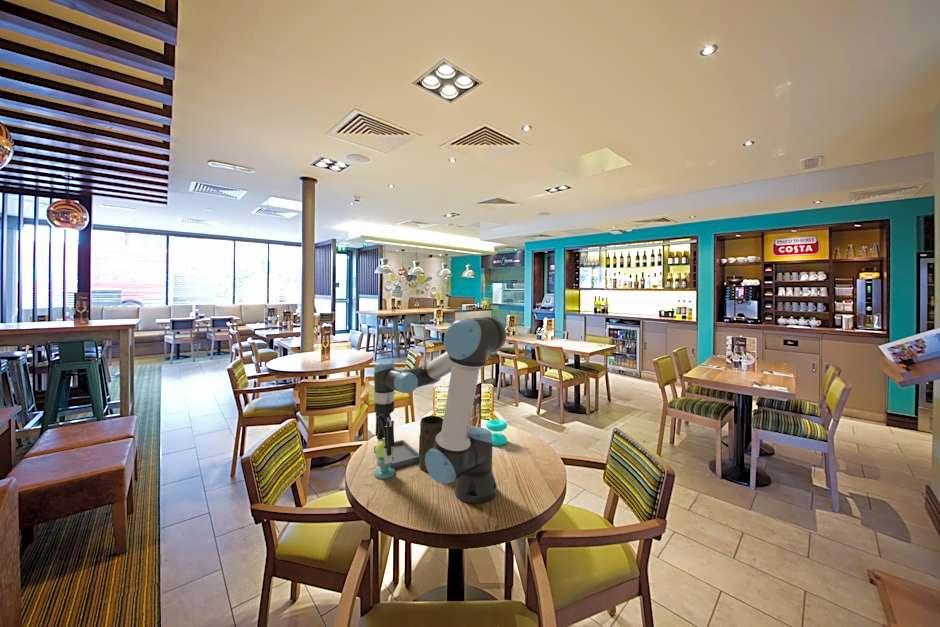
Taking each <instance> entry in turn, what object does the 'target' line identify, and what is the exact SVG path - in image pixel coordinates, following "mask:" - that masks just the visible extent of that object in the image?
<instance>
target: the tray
mask: <svg viewBox="0 0 940 627" xmlns="http://www.w3.org/2000/svg"><path fill="white" fill-rule="evenodd" d="M375 449H376V445H374V446H373V453H375V454H376V451H375ZM376 455H377V454H376ZM376 455H375V456H376ZM392 456H393V457H394V460H392V465H390V466H389V467H392V468H394V469H395V470H396V469H398V468H402V467H406V466H410V465H413V464H417V463H418V464H419V462H420V460H419V451H417V450H416V449H414V448H413V447H412V446H411V445H410V444H409V443H407V441H405V440H404V439H400V440H396V441H395V440H394V450H393V453H392Z"/></svg>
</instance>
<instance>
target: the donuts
mask: <svg viewBox="0 0 940 627" xmlns="http://www.w3.org/2000/svg"><path fill="white" fill-rule="evenodd" d="M507 423H508V422H506V421H505V420H503V419H498V418H495V419H490V420H488V421H487V422H486V424H485V425H486V429H487V430H489V431H490V432H491V433H492V441H493V443H492V446H496V447H500V446H503V445H505V444H506V443H507V442H508V441H507V440H508V438H507V436H506V435H504V434H502V433H501V432H504V431H505V430H507V427H508V424H507Z"/></svg>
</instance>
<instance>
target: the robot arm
mask: <svg viewBox="0 0 940 627" xmlns="http://www.w3.org/2000/svg"><path fill="white" fill-rule="evenodd" d="M506 339H507V330H506V327H505V326H504V324H503V323H502V321H500V320H499V319H497V318H494V317H491V316H485V317H473V318H471V317H470V318H469V317H468V318H467V317H466V318H462V319H458V320H455V321H453V322H452V323H451V324H450V325H449V326H448V327H447V329H446V330H445V333H444V336H443V345H444V347H445V352H444V353H442V354H440V355H438V356H437V357H435V358H434V359H431V361H429V362H427V363H425V364H424V365H423V366H418V367H414V368H410V369H403V370H400V369H399V370H398V369H397V368H396V369H395V363H394V362H393V361H385V360H384V361H378V362H376V363H375V364H374V369H373V370H374V371H373V378H374V379H373V381H374V383H373V384H374V391H373V394H374V395H373V398H374V400H373V401H374V403H373V404H374V413H375V437H376V440H377V444H378V443H379V442H380V441H382V440H385V446H384V463H385V464H388V463H391V462H392V447H394V442H395V431H394V430H395V428H394V427H395V426H394V425H395V421H394V420H392V416H391V414H392V413H393V412H395V394H396V392H399V393H402V394H411V393H413V392H414V391H415V390H416V389H417V388H420V387H425V386H428V385H429V386H430V385H434V384H437V383H438V382H440V380H441V378H443V377H445V376H447V375H449V374H450V376H449V383H448V390H447V396H446V401H445V407H444V408H445V409H444V412H443V413H444V414H443V425H442V431H441V432H440V433H438V434H437V435H436V438H435V444H434V448H431V449H429V451H427V453H426V455H425V464H426V468H427V470H428V474H429V476H430V477H431V478H432V479H433V480H434V481H435V482H436V483H438V484H441V485H447V484H449V483H451V482H454V481H455V480H456V482H455V483H454V495H455V497H456V498H458V500H460V501H461V502H464V503H468V504H475V505H476V504H478V505H479V504H485V503H488V502H491V501H492V500H493V499H495V498H496V496H497V486H498V485H497V482H496V480H495V476H494V474H493V445H492V443H493V441H492V433H493V432H492V431H491V430H489V429H488V428H485V427H483V426H482V427H481V426H476V425H475V426H473V425H471V423H470V422H471V418H472V413H473V408H474V402H475V397H476V396H475V395H476V391H477V385H478V379H479V373H480V369H481V368H484V367H485V366H486V362H487V358H488V356H489V355H491V354H492V353H494V352H497V351H499V350H500V349H502V348H503V346H504V345H505V344H506Z"/></svg>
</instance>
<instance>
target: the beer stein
mask: <svg viewBox="0 0 940 627" xmlns="http://www.w3.org/2000/svg"><path fill="white" fill-rule="evenodd" d="M443 419H444V417H441V416H437V415H428V416H427V415H426V416H424V417H422V418H421V419H420V423H419V425H420V428H419V429H420V430H419V431H420V432H419V437H418V438H419V441H418V444H419V445H418V446H419V447H418V453H419V460H420V462H418V467H419V470H422V471H424V472H428V470H427V468H426V464H425V455H426V453H427V451H429V449H431V448H434V444H435V438H436V435H437V434H438V433H440V432H441V431H442V425H443ZM428 473H429V472H428Z"/></svg>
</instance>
